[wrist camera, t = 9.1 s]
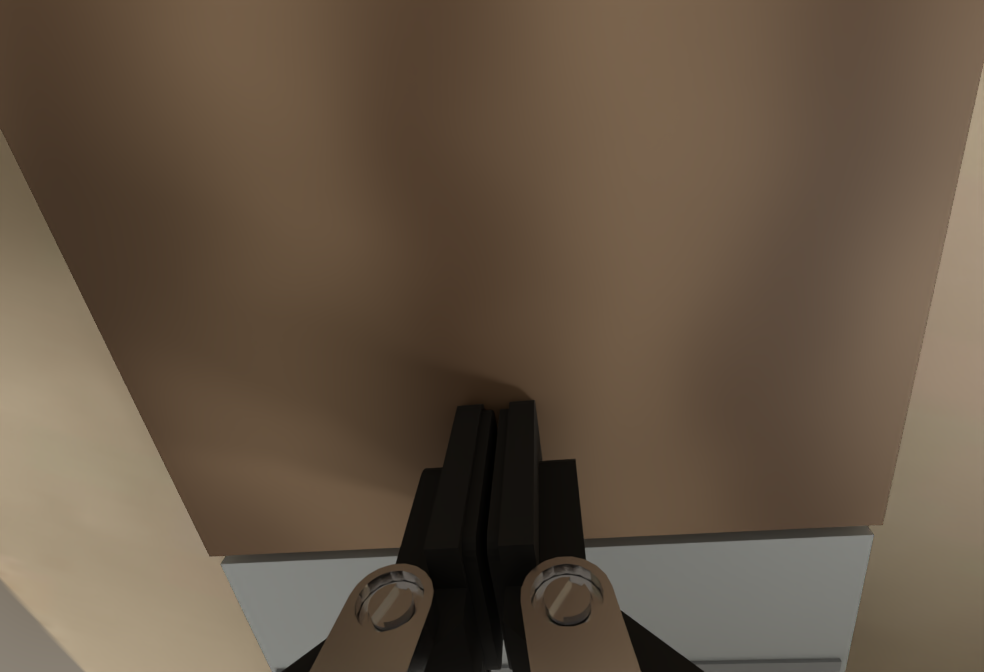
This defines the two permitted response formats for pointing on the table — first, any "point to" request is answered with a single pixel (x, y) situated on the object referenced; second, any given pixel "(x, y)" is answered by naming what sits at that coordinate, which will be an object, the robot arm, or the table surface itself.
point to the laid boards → (625, 594)
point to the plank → (503, 242)
